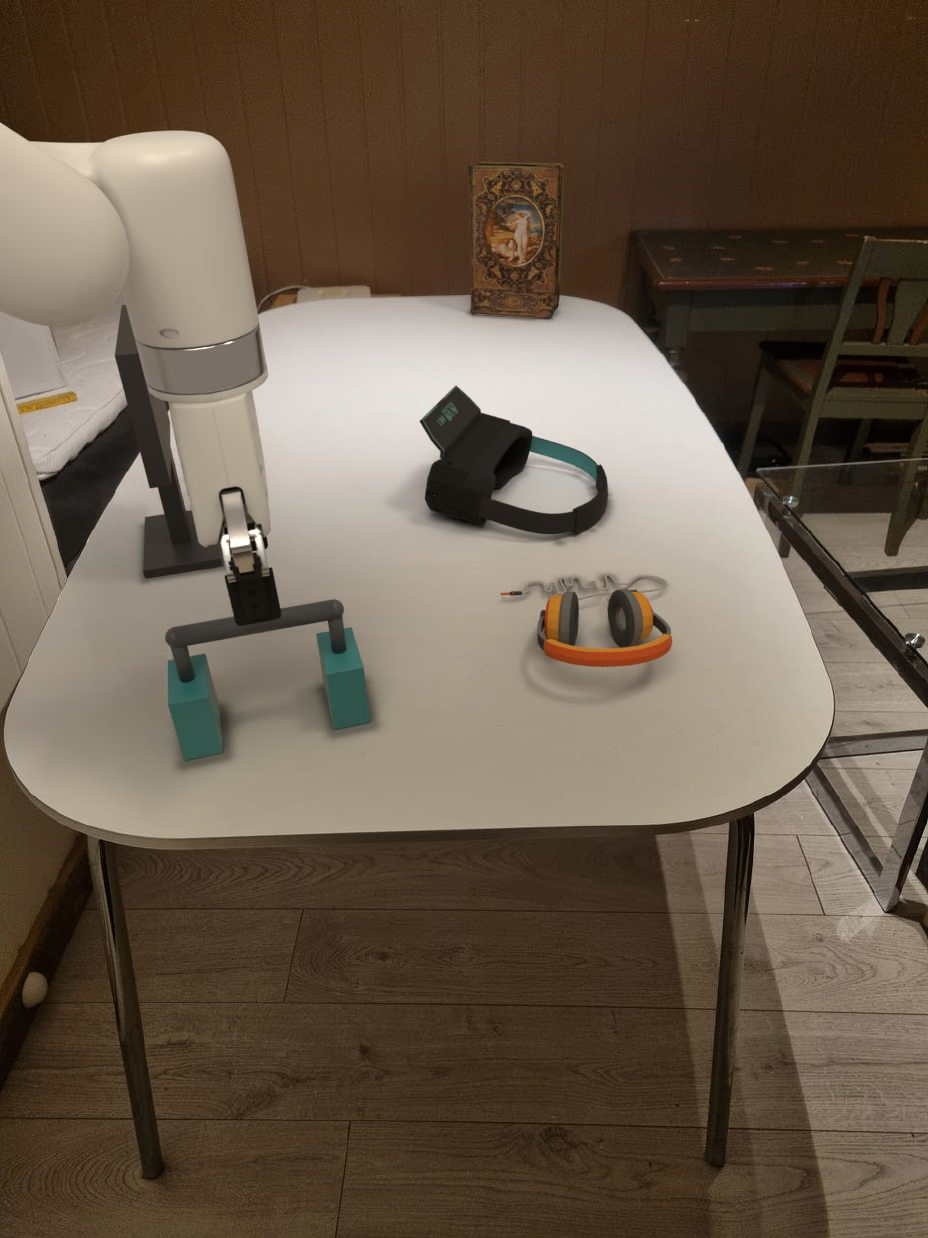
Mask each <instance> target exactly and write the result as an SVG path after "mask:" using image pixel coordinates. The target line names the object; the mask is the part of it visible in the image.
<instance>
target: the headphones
mask: <svg viewBox="0 0 928 1238" xmlns="http://www.w3.org/2000/svg"><path fill="white" fill-rule="evenodd" d="M607 577H609V578H610V580H611V581H612V582H613V583H614V584H616V585H618V586H628V585H631V584H633V583H634V582H635V581H636V580H638V579H640V578H653V579H657V580H659V581H661V582H663V583H664V585H662V586H661V587H657V588H652V589H645V590H644V589H641V590H638V589H629V588H619V589H615V590H614V591H608V590H609V588H610V586H609V582H608V578H607ZM603 578H604V582H605V587H604V588H600V587H599V586H598V583H597V581H596V580H588V581H587V582H586V586H584V585H583V584H584V583H583V581H582V579H581V578H580V577H579V576H571V577H570V584H569V583H568V582H567V579H566V578H565V577H560V578H559V579H558V581H559V584H560V586H561V588H562V590H563V591H562V592H560V591H559V587H558V586H557V585H558V584H556V582H553V581H550V582H549V588H550V589H548V588H547V585H546V584H545V582H543V581H540V580H535V581H534V580H533V581H532V580H531V581H529V582H527V583H526V586H525V588H526V590H525V591H521V590H514V591H513V590H511V591H508V592H500V596H511V597H514V596H522V595H526V594H528V593H529V592H530V587H529V586H530V585H531V584H539V585H542V586H543V589H544V592H545V593H552V592H553V591H554V588H555V592H556V593H557V594H554V595H551V596H550V597H549V599H547V602H546V605H545V609H542V610H540V613H539V619H538V622H537V629H536V630H537V631H536V635H537V638H536V639H537V645H538V647H540V649H541V650H542V651H543V653H544V655H545V656H546V657H549V658H550V659H553V660H556V661H558V662H562V663H566V664H569V665H575V666H580V667H593V668H615V667H617V668H618V667H629V666H637V665H642V664H645V663H646V664H647V663H649V662H652V661H656V660H658V659H660V658H662V657H663V656H665V655H666V654H668V653H669V652H670V651H671V648H672V644H673V637H672V631H671V630H672V628H671V627H670V625H669V623H668V622H667V621H665V619H663V618H662V617H661V616H660V615H659V614H657V613H656V612H654V610H653V607H652V606H651V605H652V604H651V603H650V601H649V599H648V598H647V597H646V596H645V594H644V593H652V592H653V593H654V592H657V591H658V592H659V591H663V590H664V589H666V588H667V586H668V581H667V580H666V579H665V578H662V577H659V576H656V575H651V574H639V575H636V576H635V577H634V578H633V579H632V580H630V581H627V582H618V581H617V580H616V579H615V578H614V577H613V576H612V575H611V574H608V573H607V574H605V575H604V576H603ZM574 580H577V581H578V582H579V585H580V587H581V589H582V590H589V588H590V584H594V587H595V589H596V590H597V591H599V593H593V594H589V595H584V596H580V597H578V595H577V593H576V592H575V591H572V590H571V591H570V590H569V591H568V590H567V589H566V587H573V586H574V584H575V583H574ZM553 586H554V587H553ZM565 586H566V587H565ZM604 591H608V592H604ZM599 596H605V600H606V602H608V603H607V621H608V626H609V630H610V632H611V635H612V637H613V638H614V640H615V641H616V642H617V643H618V645H620V646H621V647H614V648H598V647H597V648H596V647H595V648H594V647H582V646H577V645H576V642H577V638H578V631H579V619H580V604H579V601H582V600H585V599H589V598H593V597H599ZM654 627H655V629H657V630H658V631H659V632H660V633H661V634H662V635H660V636H659V637H658V638H656V639H654V640H652V641H649V642H646V643H642V644H639V642H641V641H643V640H645V639H647V638H649V637H650V635H651V634H652V631H653V628H654ZM543 631H544V634H543ZM638 644H639V645H638Z"/></svg>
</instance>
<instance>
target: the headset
mask: <svg viewBox="0 0 928 1238" xmlns="http://www.w3.org/2000/svg"><path fill="white" fill-rule="evenodd" d="M280 608H281V614H282V615H281V617H280V618H279V619H276V620H271V621H266V622H260V623H255V624H250V625H245V626H238V625H237V624H236V623H235V619H234V616H229V617H223V618H218V619H217V618H216V619H212V620H206V621H200V622H195V623H189V624H183V625H178V626H173V627H170V628H169V629H168V630H167V631H166V632H165V635H164V640H165V643H166V644H167V646H169V647H170V652H171V655H172V658H173V659H168V660H167V707H168V709H169V710H168V711H169V713H170V716H171V719H172V723H173V727H174V730H175V733H176V736H177V740H178V743H179V746H180V749H181V753H182V756H183V759H184V761H190V760H195V759H199V758H205V757H209V756H214V755H219V754H224V749H223V736H222V734H223V733H222V723H221V722H222V721H221V710H220V708H221V707H220V704H219V699H218V696H217V693H216V688H215V684H214V681H213V677H212V673H211V669H210V665H209V662H208V661H209V660H208V658H207V657H208V656H207V654H206V653H200V654H195V655H190V651H189V646H195V645H202V644H207V643H212V642H218V641H223V640H228V639H234V638H240V637H245V636H251V635H257V634H262V633H268V632H273V631H279V630H285V629H290V628H296V627H300V626H306V625H313V624H317V623H323V622H324V623H325V622H327V626H328V631H322V632H316V641H317V642H316V643H317V649H318V655H319V660H320V667H321V674H322V681H323V686H324V687H323V688H324V691H325V696H326V699H327V700H326V701H327V704H328V709H329V713H330V716H331V721H332V726H333V729H334V730H340V729H345V728H349V727H354V726H359V725H363V724H369V723H370V722H371V719H370V712H369V711H370V709H369V702H368V701H369V700H368V694H367V685H366V676H365V667H364V663H363V660H362V658H361V657H362V656H361V654H360V649H359V647H358V643H357V640H356V637H355V633H354V631H353V628H352V626H350V627H345V625H344V619H343V615H344V613H345V607H344V604H343V602H341V601H340V600H338V599H334V598H333V599H326V600H320V601H315V602H309V603H304V604H298V605H293V606H287V607H280Z"/></svg>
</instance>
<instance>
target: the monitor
mask: <svg viewBox="0 0 928 1238" xmlns="http://www.w3.org/2000/svg"><path fill="white" fill-rule="evenodd" d="M115 343H116V344H115V349H114V351H115V352H114V359H115V363H116V366H117V370H118V374H119V378H120V382H121V386H122V389H123V392H124V396H125V400H126V404H127V408H128V412H129V415H130V419H131V423H132V426H133V430H134V435H135V438H136V442H137V445H138V450H139V453H140V458H141V461H142V464H143V468H144V472H145V473H144V474H145V476H146V480H147V484H148V488H149V489H156V488H157V490H158V491H157V492H158V494H159V498H160V503H161V506H162V511H163V513H162V514H155V515H148V516H145V517H144V531H143V532H144V535H143V536H144V537H143V560H142V561H143V562H142V563H143V564H142V572H143V575H144V579H148V578H149V579H150V578H156V577H161V576H168V575H174V574H181V573H187V572H192V571H197V570H204V569H205V570H206V569H211V568H212V569H213V568H217V567H223V566H224V563H223V553H222V548H221V543H220V540H219V539H218V543H217V544H214V545H209V547H204V546H202V545H201V544H200V543H199V542H198V537H197V532H196V527H195V523H194V518H193V514H192V510H191V509H190V510H187V508H186V504H185V501H184V496H183V492H182V488H181V483H180V480H179V476H178V472H177V468H176V467H177V466H176V464H175V459H174V456H173V455H174V454H173V450H172V447H171V419H170V416H169V412H168V408H167V402H166V401H164V400H161V399H158V398H156V397H154V396H153V395H151V394H150V392H149V390H148V386H147V383H146V379H145V375H144V372H143V368H142V364H141V360H140V356H139V353H138V349H137V345H136V341H135V337H134V334H133V330H132V326H131V323H130V319H129V315H128V311H127V308H126V304H121V307H120V314H119V321H118V328H117V335H116V342H115Z"/></svg>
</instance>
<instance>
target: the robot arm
mask: <svg viewBox="0 0 928 1238" xmlns="http://www.w3.org/2000/svg"><path fill="white" fill-rule="evenodd" d="M245 239H246V238H245V232H244V228H243V223H242V217H241V211H240V205H239V199H238V194H237V188H236V182H235V177H234V172H233V167H232V164H231V159H230V157H229V154H228V152H227V151H226V148H225V147H224V146H223V144H222V143H221V142H220V141H219V140H218V139H216V138H215V137H213V136H212V135H210V134H207V133H204V132H201V131H193V130H192V131H190V130H157V131H145V132H137V133H131V134H126V135H120V136H116V137H113V138H109V139H107V140H106V141H102V142H55V141H54V142H53V141H52V142H51V141H50V142H49V141H32V140H30V141H29V140H28V139H27V138H25V137H23V136H22V135H21V134H19V133H17V132H16V131H14V130H12V129H11V128H9V127H8V126H7V125H5V124H3V123H2V122H0V312H1V313H3V314H5V315H8V316H10V317H11V318H15V319H18V320H21V321H23V322H26V323H29V324H30V323H31V324H36V325H39V326H44V327H57V328H62V327H69V326H77V325H80V324H83V323H86V322H89V321H91V320H94V319H95V318H97V317H98V316H100V315H102V314H103V313H105V312H106V311H107V310H108V309H109V308H110V307H112V305H113V304H115V302H116V300H117V299H118V297H119V296H120V295H121V293H122V296H123V300H124V305H126V308H127V311H128V315H129V319H130V323H131V326H132V330H133V334H134V337H135V341H136V345H137V349H138V353H139V356H140V360H141V364H142V368H143V372H144V375H145V379H146V383H147V386H148V390H149V392H150V394H151V395H153V396H154V397H156V398H158V399H161V400H164V401H165V402H168V408H169V409H168V410H169V415H170V422H171V426H172V431H173V436H174V440H175V445H176V451H177V454H178V458H179V463H180V467H181V472H182V475H183V479H184V485H185V488H186V492H187V496H188V501H189V505H190V510H192V514H193V518H194V523H195V527H196V532H197V537H198V542H199V543H200V544H201V545H202V546H204V547H209V545H214V544H217V543H218V539H219V540H220V544H221V553H222V559H223V562H224V563H223V564H224V567H225V574H226V575H225V574H224V581H225V585H226V589H227V594H228V598H229V602H230V606H231V610H232V614H233V617H234V619H235V623H236V624H237V625H238V626H245V625H250V624H255V623H260V622H266V621H271V620H276V619H279V618H280V617H281V615H282V614H281V608H282V607H281V604H280V599H279V595H278V594H279V593H278V590H277V584H276V579H275V574H274V569H273V567H272V566H271V567H269V563H268V558H267V553H266V549H268V547H269V541H268V537H267V536H268V535H269V534H270V532H271V529H272V527H271V517H270V516H271V515H270V503H269V493H268V492H269V491H268V483H267V474H266V466H265V459H264V451H263V445H262V440H261V439H262V438H261V433H260V428H259V422H258V421H259V420H258V416H257V415H258V414H257V410H256V403H255V400H254V395H253V394H254V393H253V390H256V389H257V388H259V387H261V386H262V385H263V384H264V383H265V382H266V380H267V379H268V378H269V370H268V365H267V360H266V353H265V349H264V348H265V347H264V342H263V337H262V331H261V325H260V319H259V313H258V307H257V302H256V296H255V290H254V284H253V280H252V279H253V277H252V272H251V268H250V261H249V256H248V250H247V244H246V240H245Z"/></svg>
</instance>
